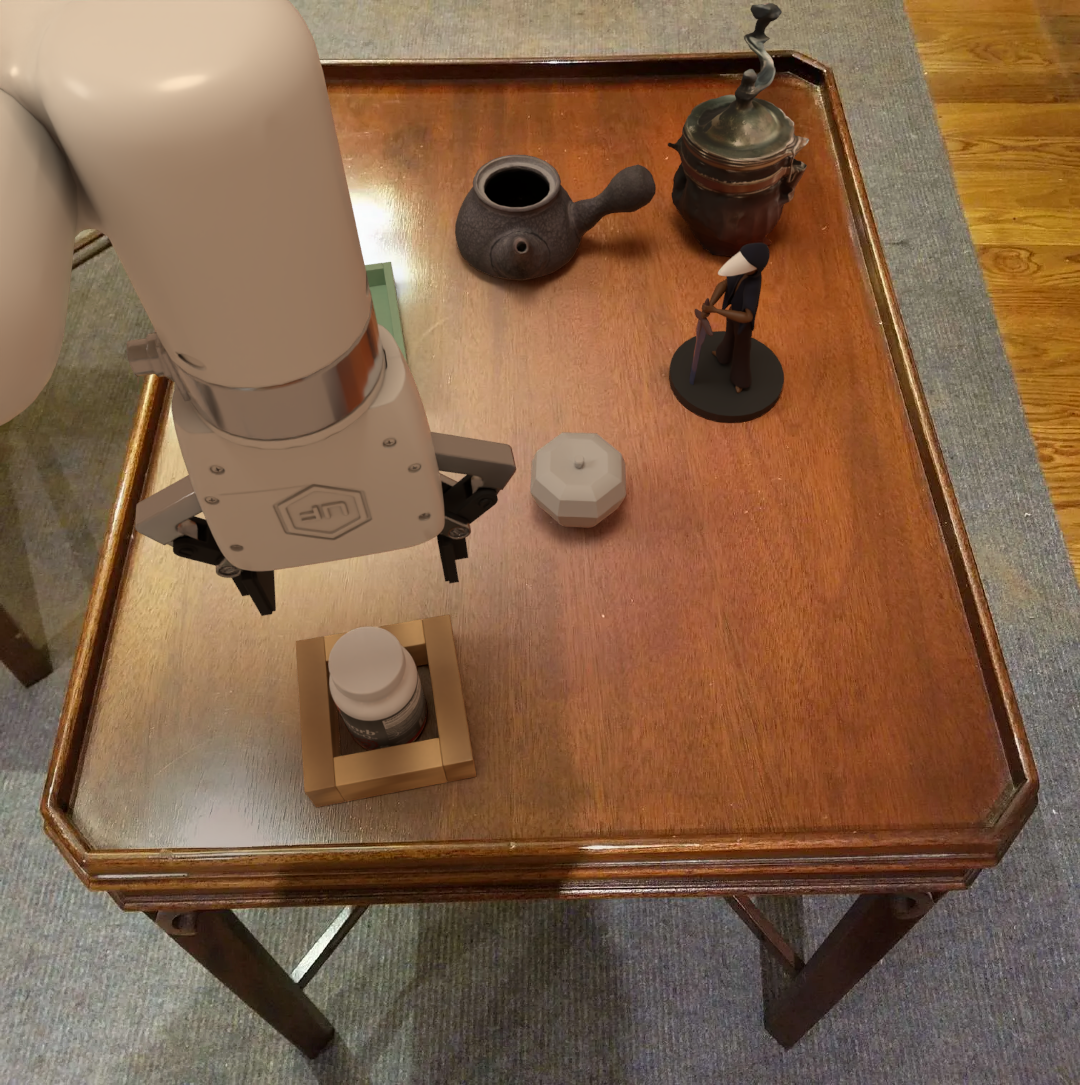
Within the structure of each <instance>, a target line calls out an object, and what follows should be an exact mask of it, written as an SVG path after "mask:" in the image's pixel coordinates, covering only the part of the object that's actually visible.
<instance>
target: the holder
mask: <svg viewBox="0 0 1080 1085" xmlns="http://www.w3.org/2000/svg"><path fill="white" fill-rule="evenodd" d="M378 627H379V628H382V629H385V630H387V631H389V632H390V633H392V634H393V635H394V636H395V637H396V638H397V639H398V641H399V642H400V644H401V646H403V647H404V648H405V649H406V650H407V651H408V652H409V654H410V655H411V657H412V658H413V660H414V663H415V665H416V667H420V666H426V665H428V670H429V678H430V684H431V692H432V698H433V705H434V712H435V719H436V726H437V727H436V728H437V734H438V737H433V738H429V739H425V740H418V741H414V742H412V743H408V744H402V745H397V746H392V747H386V748H381V749H376V750H366V751H360V752H355V753H350V754H344V755H342V745H341V733H340V720H339V710H338V708H337V706H336V704H335V702H334V700H333V697H332V694H331V691H330V685H329V678H330V672H329V666H328V661H329V656H330V652H331V650H332V648H333V646H334V645H335V643H336V642H337V641H338V640H339V639H340V638H341V637H342V636H343V635H344V634H346V633H347V632H348V631H347V632H340V633H334V634H329V635H328V634H327V635H322V636H317V637H311V638H305V639H300V640H295V658H296V674H297V689H298V690H297V691H298V707H299V724H300V742H301V758H302V759H301V760H302V774H303V790H304V791H303V792H304V794H305V795H306V797H307V798H308V799H309V800H310V801H311V803H312V804H313V806H314V807H315V808H322V807H327V806H331V805H337V804H342V803H346V802H352V801H357V800H363V799H367V798H372V797H373V798H374V797H379V796H383V795H389V794H393V793H398V792H404V791H409V790H414V789H420V788H425V787H430V786H434V785H435V786H436V785H440V784H445V783H451V782H456V781H460V780H465V779H471V778H472V779H473V778H476V777H477V770H476V764H475V758H474V751H473V744H472V740H471V733H470V727H469V720H468V715H467V709H466V701H465V695H464V690H463V683H462V678H461V671H460V665H459V659H458V651H457V646H456V641H455V640H456V639H455V634H454V628H453V624H452V619H451V615H450V614H443V615H437V616H432V617H426V618H422V619H414V620H409V621H404V622H397V623H392V624H386V625H381V626H378Z"/></svg>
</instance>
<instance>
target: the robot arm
mask: <svg viewBox="0 0 1080 1085" xmlns="http://www.w3.org/2000/svg"><path fill="white" fill-rule="evenodd" d="M87 230H95V231H98V232H100V233H101V234H102V235H104V236H105V237H107V238H108V240H109V241H110V243H111V246H112V247H113V250H114V251H115V253H116V255H117V257H118V259H119V261H120V263H121V265H122V267H123V270H124V272H125V274H126V276H127V277H128V279H129V282H130V283H131V285H132V287H133V289H134V291H135V293H136V295H137V297H138V300H139V301H140V303H141V305H142V307H143V309H144V311H145V313H146V316H147V317H148V319H149V321H150V323H151V326H152V327H153V329H154V331H155V332H150V333H148V334H146V337H144V338H137V339H130V340H127V341H126V355H127V356H126V357H127V360H128V364H129V366H130V368H131V371H132V372H133V375H135V376H136V377H145V376H151V375H154V376H156V377H158V378H162V377H165V378H167V379H168V380H170V381H171V382H172V383H174V385H173V393H172V396H171V405H170V406H171V415H172V420H173V421H172V422H173V425H174V426H173V427H174V431H175V435H176V439H177V442H178V446H179V449H180V453H181V457H182V460H183V463H184V465H185V468H186V471H187V474H188V475H186V476H184V477H182V478H181V479H179V480H176V481H175V482H173V483H172V484H169V485H168V486H166V487H164V488H162V489H159V491H157V492H155V493H153V494H151V495H150V496H148V497H145V498H143V499H142V500H141V501H139V502H138V503H136V505H135V521H134V529H135V531H136V532H137V533H139V534H141V535H142V536H145V537H147V538H149V539H150V540H152V541H155V542H157V543H159V544H161V545H162V546H166V545H168V546H169V547H172V552H173V554H174V555H176V556H177V557H180V558H184V559H187V560H191V561H196V562H198V563H203V564H206V565H207V564H208V565H211V566H215V574H216V575H217V576H219V577H220V578H224V579H225V578H226V579H231V580H232V581H233V583H234V585H235V586H236V588H237V590H238V591H239V593H240V595H241V596H242V597H247V596H249V597H250V598H251V600H252V602H253V604H254V605H255V607H256V609H257V611H258V612H259V614H260V615H261V617H265V616H270V615H273V612H276V611H277V604H276V602H277V601H276V582H275V571H278V570H284V569H285V570H286V569H292V568H299V567H305V566H311V565H318V564H324V563H329V562H335V561H336V562H337V561H342V560H347V559H353V558H360V557H366V556H371V555H376V554H381V553H382V554H383V553H388V552H393V551H397V550H403V549H407V548H412V547H416V546H419V545H422V544H425V543H426V542H427V543H428V542H430V541H432V540H433V539H434V538H436V540H437V546H438V551H439V556H440V557H439V558H440V562H441V566H442V572H443V578H444V582H445V583H446V582H448V583H449V584H455V583H459V582H460V581H459V574H458V569H457V568H458V567H457V563H456V562H457V560H464V559H469V552H468V545H467V537H469V536H470V535H471V533H472V529H471V528H472V527H471V524H472V523H473V522H475V521H476V520H477V519H479V518H480V517H481V516H483V515H484V514H485V513H486V512H487V511H489V510H490V509H491V508H493V507H494V506H496V505H497V503H498V501H499V499H498V498H499V497H498V494H499V493H500V492H501V491H504V489H505V488H506V486H507V485H508V483H509V482H510V481H511V479H512V478H513V476H514V475H515V474H516V471H517V465H516V461H515V456H514V452H513V448H512V446H511V445H510V444H507V443H502V442H497V441H490V440H484V439H477V438H472V437H466V436H459V435H453V434H448V433H443V432H436V431H431V427H430V424H429V421H428V417H427V413H426V410H425V407H424V403H423V400H422V397H421V394H420V392H419V388H418V386H417V383H416V381H415V378H414V376H413V373H412V371H411V369H410V367H409V363H408V364H407V362H408V361H407V362H406V360H405V358H404V356H403V354H402V352H401V350H400V348H399V346H398V344H397V343H396V341H395V339H394V338H393V336H392V335H391V334H390V333H389V331H388V330H387V329H385V328H384V327H383V326H382V325H380V324H378V323H377V319H376V314H375V310H374V305H373V300H372V296H371V291H370V288H369V283H368V277H367V273H366V268H365V265H366V264H365V261H364V260H365V259H364V256H363V251H362V246H361V241H360V237H359V233H358V232H359V231H358V227H357V222H356V217H355V213H354V208H353V204H352V199H351V194H350V189H349V185H348V181H347V176H346V172H345V166H344V162H343V156H342V152H341V148H340V143H339V139H338V134H337V130H336V125H335V121H334V115H333V111H332V106H331V102H330V96H329V92H328V88H327V83H326V79H325V74H324V70H323V67H322V63H321V59H320V56H319V52H318V48H317V45H316V42H315V39H314V36H313V34H312V32H311V31H310V29H309V26H308V24H307V22H306V20H305V19H304V17H303V16H302V14H301V13H300V11H299V10H298V9H297V8H296V6H294V4H293V3H292V2H291V1H290V0H0V427H1V426H3V425H5V424H6V423H8V422H10V421H12V420H13V419H14V418H15V417H17V416H19V415H20V414H22V412H24V411H25V410H27V409H28V408H29V407H30V406H31V405H32V404H33V403H34V402H36V400H37V398H38V397H39V395H40V394H41V392H42V391H43V390H44V388H45V387H46V385H47V384H48V382H50V379H51V378H52V376H53V374H54V372H55V368H56V366H57V364H58V361H59V358H60V355H61V350H62V346H63V341H64V338H65V331H66V324H67V316H68V308H69V300H70V291H71V290H70V289H71V282H72V280H71V279H72V271H73V263H74V262H73V261H74V252H75V244H76V243H75V242H76V238H77V237H78V235H79V234H80V233H81V232H83V231H87ZM441 472H444V473H445V472H446V473H452V474H460V475H464V476H463V477H462V478H461V479H459V480H458V481H457V480H455V479H454V478H452V477H449V476H447V475H445V474H443V473H441ZM201 513H202V514H203V516H204V518H203V517H198V516H197V515H200V514H201Z"/></svg>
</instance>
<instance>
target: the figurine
mask: <svg viewBox="0 0 1080 1085" xmlns="http://www.w3.org/2000/svg"><path fill="white" fill-rule="evenodd" d="M770 256H771V255H770V248H769V245H766V244H764V243H751V244H746V245H744V246H743V247H742V248H741V249H740V251H739V252H738V253H737V254H735V255H734V256H731V258H729V259H728V260H727V261H726V262H724V264H723V265H722V266H721V267H720V268H719V269H718V271H717V275H718V276H720V277H726V278H725V279H723V280H722V281H719V282H718V283H717V284H716V285H715V288H714V290H713V292H712V294H711V296H710V298H709V297H707V298H705V300H704V302H703V303H702V305H701V310H700V309H698V308H694V316H695V317H696V319H697V324H696V328H695V329H696V330H695V335H694V336H692V337H690V338H689V339H687V340H686V341H684V342H682V344H681V345H680V346H678V347H677V349H675V350H676V351H674V353H673V355H672V358H671V360H670V363H669V370H668V382H669V387H670V389H671V391H672V393H673V395H674V397H675V398H676V399H677V400H678V402H679V403H680V404H681V405H682V406H683V407H684V408H685V409H687V410H688V411H690V412H691V413H693V414H694V415H697V416H699V417H701V418H704V419H706V420H709V421H713V422H717V423H725V424H735V423H744V422H748V421H752V420H754V419H757V418H760V417H761V416H763V415H765V414H766V413H768V412H769V411H770V410H771V409H772V408H773V407H774V406H775V405H776V404H777V402H778V400H779V399H780V397H781V394H782V390H783V387H784V384H785V372H784V368H783V365H782V363H781V361H780V360H779V357H778V356H777V355H776V354H775V352H773V350H772V349H771V348H769V347H768V346H767V345H766V344H765V343H763V342H762V341H761V340H760V341H759V340H758V339H756V338H754V337H753V332H754V330H755V326H756V324H755V322H756V316H757V312H758V309H759V303H760V296H761V291H762V282H763V281H762V280H763V276H762V272H763V271H764V270H765V268H766V267H767V265H768V263H769V261H770ZM722 297H723V298H722ZM721 298H722V303H721V304H722V305H721V308H717V307H716V306H715V305H716V304H717V303H718V301H719V300H720V299H721ZM727 308H728V309H727ZM711 314H718V315H719V316H723V317H724V318H725V330H718V331H717V330H716V331H715V330H714V331H713V328H712V326H711V322H710V321H709V319H708V317H710V316H711Z"/></svg>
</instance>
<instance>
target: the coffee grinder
mask: <svg viewBox="0 0 1080 1085" xmlns="http://www.w3.org/2000/svg"><path fill="white" fill-rule="evenodd" d="M749 10H750V12H751V14H752V17H753V18H754V19H755V20H756V22H755V26H754V29H753V30H754V31H752V32H749V33H747V34H744V36H743V40H744V41H745V43H746V44H747V45H748V48H749V49H750V50H751V51H752V52H753V53H754V54H755V55H756V56H757V57H758V61H759V62H760V64H759V65H760V67H759V68H760V71H759V72H758V73H756V72H755V70H754V69H753V68H749V69H747V70H745V71H744V72H743V74H742V77H741V79H740V80H741V81H740V85H739V86H737V88H736V89H735V91H734V94H725V95H721V96H718V97H716V98H710V99H708V100H706V101H702V102H700V103H697V104H696V105H695V106H694V107H693V108H692V110H691V111H690V114H688V115H687V117H686V120H685V122H684V124H683V126H682V129H681V136H680V137H679V138H678V139H677V140H676V142H675V143H672V142H668V143H667V147H669V148H671V149H672V150H673V149H674V150H675V152H677V153H678V155H679V159H680V164H679V165H678V168H677V170H676V172H675V173H674V175H673V179H672V181H673V183H672V184H673V185H672V188H671V191H672V192H671V201H672V204H673V205H674V207H675V209H676V210H677V212H678V213H679V214H680V216H681V218H682V219H683V221H684V222H685V223H686V225H687V226H688V227H689V230H690V231H691V234H692V235H693V236H694V238H695V240H696V241H698V243H699V245H700V246H701V247H702V249H703V250H706V251H707V252H708V253H710V254H711V255H712V256H722V257H733V256H734V255H735V254H737V253H738V252H739V251H740V249H741V248H742V247H743V246H744V245H746V244H751V243H764V244H766V245H767V246H769V245H771V244H772V243H773V242H772V240H770V238H768V237H767V236H768V235H769V234H771V233H772V232H773V230H774V229H775V227H776V226H777V224H778V222H779V220H780V219H781V217H782V213H783V209H784V206H785V205H786V204H788V203H790V202H791V201H792V200H793V199H794V196H795V192H796V187H797V186H798V184H799V183H800V181H801V179H802V178H803V175H804V174H805V172H806V169H807V167H808V164H806V163H805V162H803V161H802V160H799V159H796V158H795V157H796V156H797V155H798V153H800V152H801V151H802V150H803V149H804V148H805V146H807V144H808V143H809V141H810V139H809V138H808V137H803V136H800V135H796V133H795V122H794V121H793V120H792V119H791V118H790V117H789V116H788V115H786V113H785V112H784V111H783V109H781V108H780V107H778V106H776V105H775V104H774V103H772V102H771V101H768V100H766V99H762V98H758V97H757V96H758V95H759V94H760V93H761V92H762V91H764V90H766V89H767V88H768V87H769V86H770V85H771V84H772V83H773V81H774V78H775V77H776V76H775V75H776V67H775V64H774V60H773V58H772V56H771V55H770V54H769V53H768V51H767V50H766V49H765V45H764V44H765V43H766V42H768V41H769V40H770V39H771V38H770V37H769V36H767V35H766V33H765V31H766V28H767V27H768V26H769V25H770V23H772V22H774V21H776V20H777V19H779V17H780V15H782V13H783V12H782V10H781V8H780V7H779V5H777V4H776V3H773V2H764V3H761V4H751V6H750V9H749Z"/></svg>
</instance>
